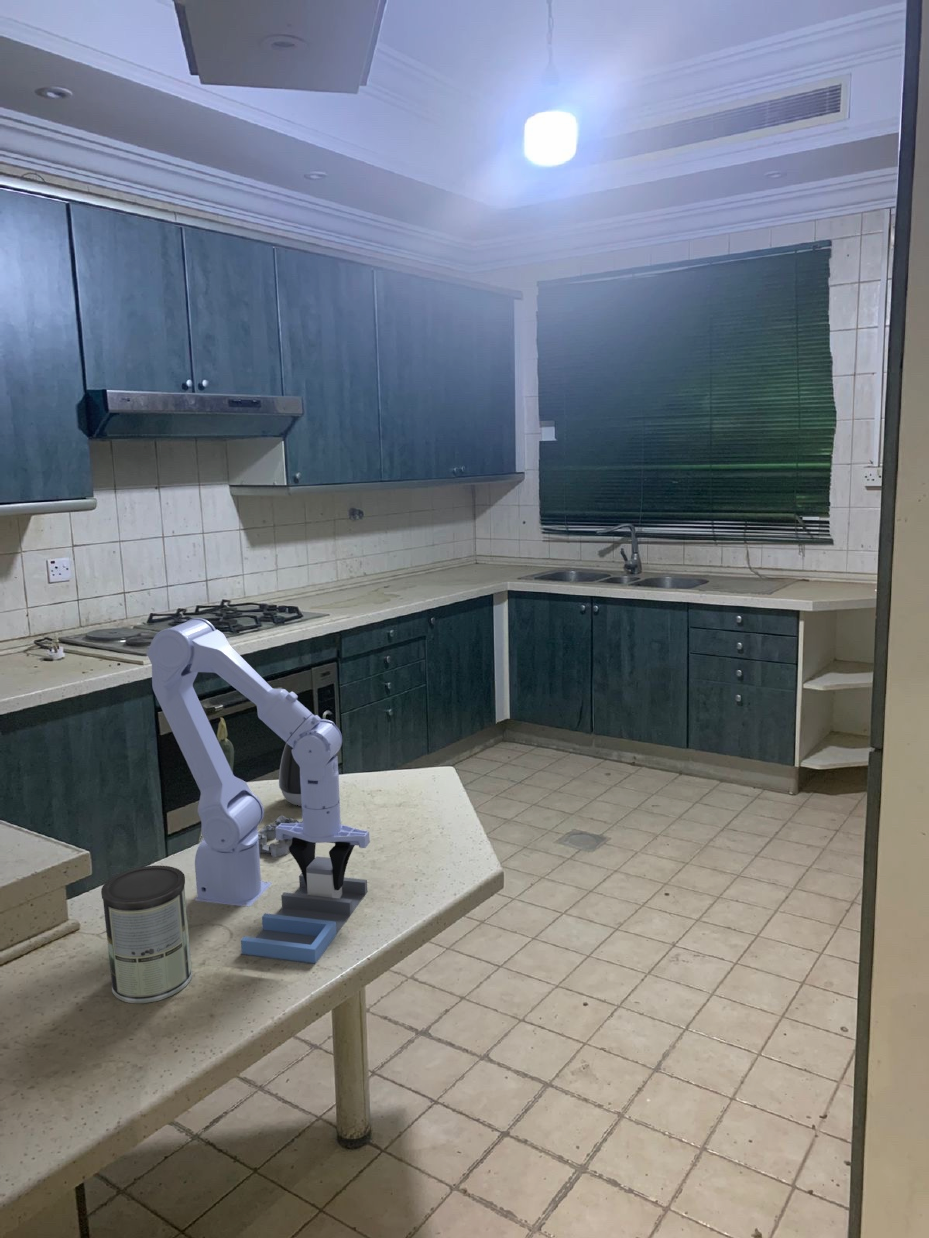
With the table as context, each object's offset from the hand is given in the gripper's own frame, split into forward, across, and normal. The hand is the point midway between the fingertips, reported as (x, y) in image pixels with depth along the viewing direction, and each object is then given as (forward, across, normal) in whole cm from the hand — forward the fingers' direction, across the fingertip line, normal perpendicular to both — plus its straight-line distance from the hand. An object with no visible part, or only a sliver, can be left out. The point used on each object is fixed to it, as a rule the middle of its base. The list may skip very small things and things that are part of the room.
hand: (324, 885), depth 141 cm
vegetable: (+3, +30, -26) cm, 40 cm away
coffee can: (+3, +14, +24) cm, 29 cm away
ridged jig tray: (+3, 0, +6) cm, 7 cm away
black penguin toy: (+3, +20, -38) cm, 42 cm away
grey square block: (+2, 0, 0) cm, 2 cm away
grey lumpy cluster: (+3, +16, -18) cm, 24 cm away
